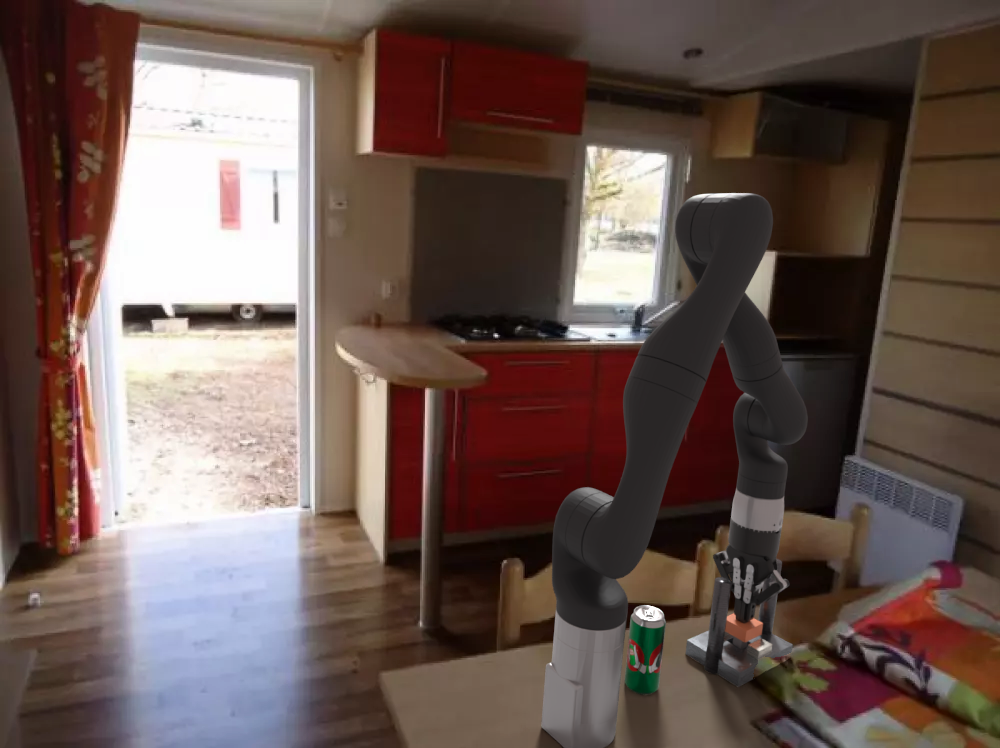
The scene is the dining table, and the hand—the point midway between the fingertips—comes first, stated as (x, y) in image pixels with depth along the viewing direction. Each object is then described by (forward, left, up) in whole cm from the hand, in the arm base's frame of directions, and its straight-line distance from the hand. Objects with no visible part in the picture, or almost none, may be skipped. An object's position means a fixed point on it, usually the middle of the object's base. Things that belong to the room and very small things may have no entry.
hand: (743, 620), depth 114 cm
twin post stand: (0, 0, -6) cm, 6 cm away
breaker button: (0, 0, -5) cm, 5 cm away
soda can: (-20, +3, -7) cm, 21 cm away
